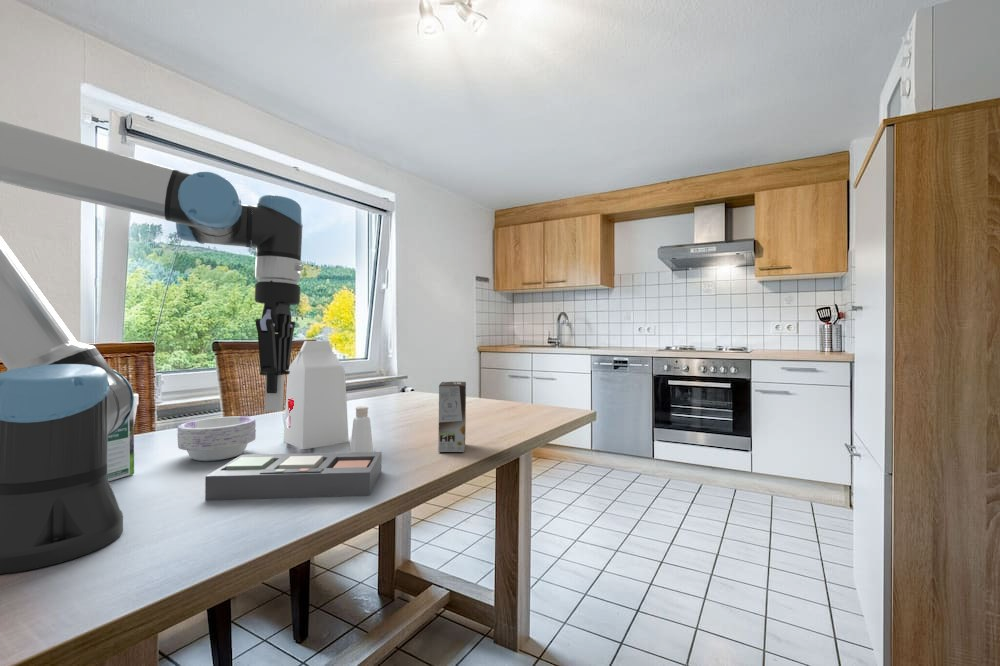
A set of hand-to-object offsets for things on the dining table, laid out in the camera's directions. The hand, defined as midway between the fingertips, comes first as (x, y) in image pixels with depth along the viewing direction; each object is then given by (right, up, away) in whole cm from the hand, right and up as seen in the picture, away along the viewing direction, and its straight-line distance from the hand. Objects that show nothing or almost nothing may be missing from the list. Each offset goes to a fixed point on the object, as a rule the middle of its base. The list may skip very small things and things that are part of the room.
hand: (273, 410), depth 86 cm
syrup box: (-34, -14, +4) cm, 37 cm away
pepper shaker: (+9, -14, +22) cm, 28 cm away
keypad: (+5, -14, +1) cm, 15 cm away
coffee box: (+30, -14, +29) cm, 44 cm away
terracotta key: (+14, -13, +2) cm, 19 cm away
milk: (-6, -14, +35) cm, 38 cm away
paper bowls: (-22, -14, +20) cm, 33 cm away
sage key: (-4, -12, 0) cm, 12 cm away
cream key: (+5, -12, +1) cm, 13 cm away
